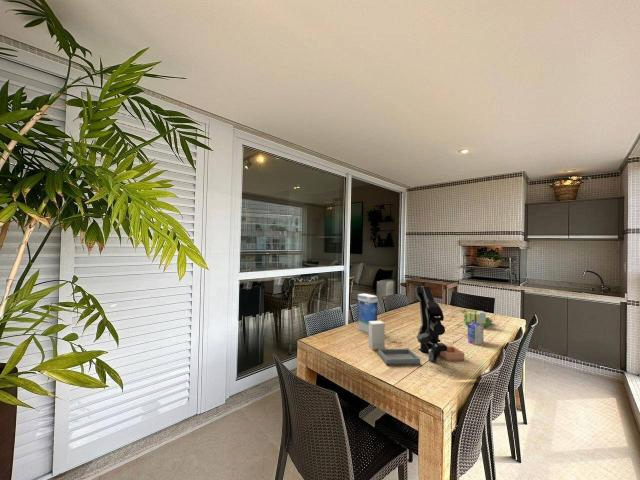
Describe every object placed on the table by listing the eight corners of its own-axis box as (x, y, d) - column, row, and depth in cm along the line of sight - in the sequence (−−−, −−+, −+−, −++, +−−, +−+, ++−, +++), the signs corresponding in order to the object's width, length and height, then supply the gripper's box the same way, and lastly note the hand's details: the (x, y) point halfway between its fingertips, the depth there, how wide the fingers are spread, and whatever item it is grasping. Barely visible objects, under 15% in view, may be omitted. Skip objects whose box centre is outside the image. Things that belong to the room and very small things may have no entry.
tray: (378, 354, 157) (378, 349, 157) (408, 353, 159) (408, 348, 159) (386, 365, 143) (386, 359, 143) (420, 364, 145) (420, 358, 145)
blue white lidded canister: (377, 332, 196) (378, 296, 196) (369, 334, 191) (370, 297, 192) (364, 327, 207) (364, 293, 207) (356, 329, 202) (357, 294, 203)
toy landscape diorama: (470, 318, 242) (470, 303, 242) (497, 323, 228) (497, 307, 228) (457, 326, 217) (457, 309, 217) (486, 332, 203) (486, 314, 203)
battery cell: (427, 359, 151) (427, 347, 151) (434, 359, 152) (434, 347, 152) (430, 362, 147) (431, 350, 147) (438, 362, 148) (438, 350, 148)
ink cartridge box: (475, 340, 185) (475, 318, 185) (484, 342, 180) (484, 320, 180) (466, 342, 180) (467, 320, 180) (475, 345, 175) (475, 322, 175)
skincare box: (380, 345, 171) (381, 320, 171) (385, 349, 164) (385, 323, 164) (367, 346, 169) (368, 320, 170) (371, 350, 163) (372, 323, 163)
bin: (437, 353, 160) (437, 346, 160) (453, 353, 161) (453, 346, 161) (446, 360, 150) (446, 353, 150) (464, 360, 151) (464, 353, 151)
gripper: (411, 324, 158) (410, 351, 158) (427, 335, 140) (426, 366, 139) (430, 324, 159) (429, 351, 159) (448, 334, 141) (447, 365, 141)
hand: (432, 358), depth 150 cm, fingers closed on battery cell, 4 cm apart
